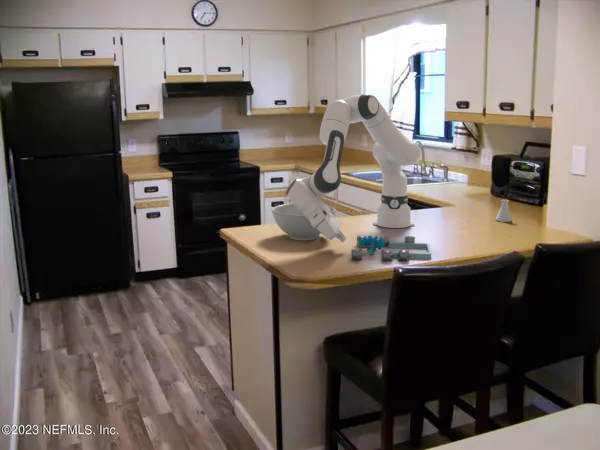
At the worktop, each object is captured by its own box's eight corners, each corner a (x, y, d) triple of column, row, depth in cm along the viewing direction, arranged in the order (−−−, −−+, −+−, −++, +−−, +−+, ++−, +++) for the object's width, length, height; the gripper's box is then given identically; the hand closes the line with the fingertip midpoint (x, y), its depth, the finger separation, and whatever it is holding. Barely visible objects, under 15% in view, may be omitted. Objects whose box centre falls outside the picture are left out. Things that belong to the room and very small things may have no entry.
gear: (387, 246, 239) (382, 233, 231) (387, 260, 236) (381, 246, 228) (360, 248, 243) (353, 235, 235) (358, 261, 239) (352, 248, 232)
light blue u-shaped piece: (389, 247, 245) (389, 242, 245) (428, 248, 243) (428, 243, 243) (389, 257, 230) (389, 252, 230) (431, 259, 228) (431, 253, 228)
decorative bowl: (327, 228, 277) (328, 202, 274) (341, 243, 251) (342, 214, 248) (268, 231, 272) (268, 204, 270) (276, 246, 247) (276, 216, 244)
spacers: (354, 242, 252) (354, 234, 251) (414, 244, 249) (414, 236, 248) (351, 260, 226) (351, 251, 226) (417, 262, 223) (417, 253, 222)
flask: (505, 218, 298) (506, 198, 295) (514, 221, 291) (516, 201, 289) (492, 219, 295) (493, 199, 293) (501, 222, 289) (503, 201, 287)
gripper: (316, 214, 248) (340, 239, 249) (310, 226, 228) (336, 252, 229) (327, 204, 246) (351, 228, 247) (322, 214, 227) (348, 241, 227)
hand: (344, 240), depth 238 cm, fingers closed
